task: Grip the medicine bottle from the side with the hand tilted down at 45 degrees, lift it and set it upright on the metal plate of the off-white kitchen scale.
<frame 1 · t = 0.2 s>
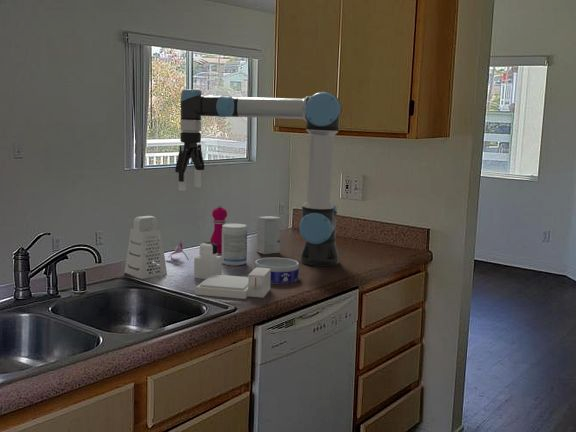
hand: (190, 188, 244), 28 cm above the counter, tool pointing down, fingers open, 13 cm apart
dog bowl: (276, 279, 226), on the counter
grater: (145, 274, 227), on the counter
lily: (177, 260, 249), on the counter
supplement tub: (233, 263, 246), on the counter
skincare box: (268, 252, 268), on the counter
kitchen scale: (227, 290, 209), on the counter
pepper mill: (218, 252, 265), on the counter
medicine bottle: (207, 277, 225), on the counter
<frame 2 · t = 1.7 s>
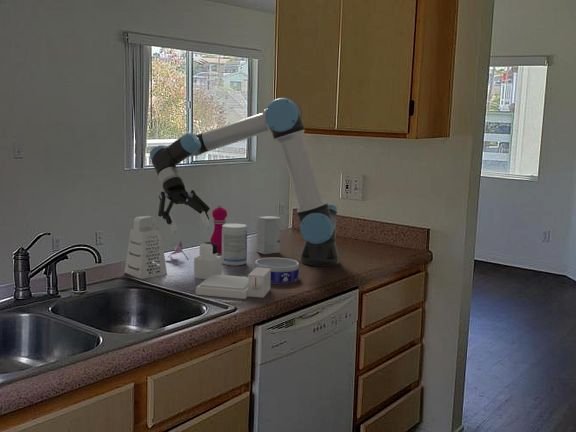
hand: (192, 229, 230), 15 cm above the counter, tool tilted 45°, fingers open, 13 cm apart
nothing on the counter moved.
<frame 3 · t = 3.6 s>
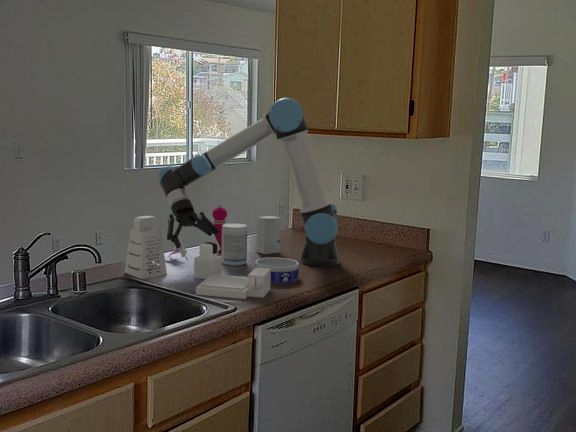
hand: (201, 252, 225), 8 cm above the counter, tool tilted 45°, fingers open, 13 cm apart
nothing on the counter moved.
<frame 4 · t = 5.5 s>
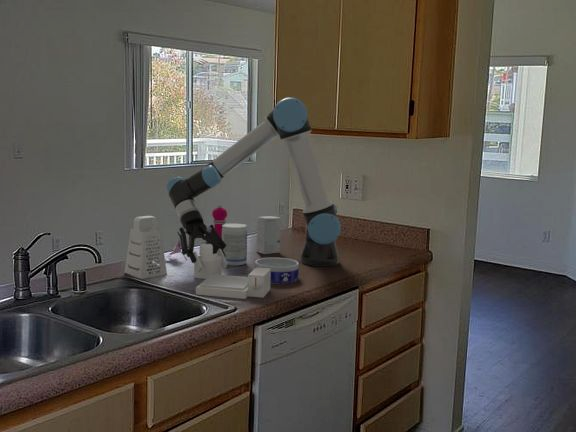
hand: (213, 267, 222), 4 cm above the counter, tool tilted 45°, fingers closed on medicine bottle, 9 cm apart
medicine bottle: (207, 277, 225), on the counter, touching gripper
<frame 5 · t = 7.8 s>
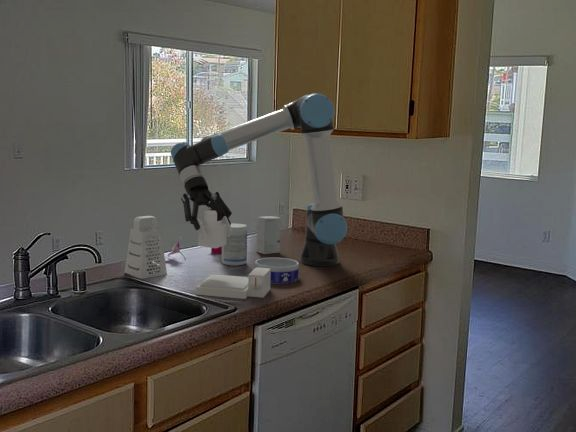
hand: (217, 235, 213), 17 cm above the counter, tool tilted 45°, fingers closed on medicine bottle, 9 cm apart
medicine bottle: (212, 246, 216), point 12 cm above the counter, touching gripper
when the fingers open (8 cm above the counter, at t = 10.5 s): medicine bottle drops 1 cm, resting on kitchen scale.
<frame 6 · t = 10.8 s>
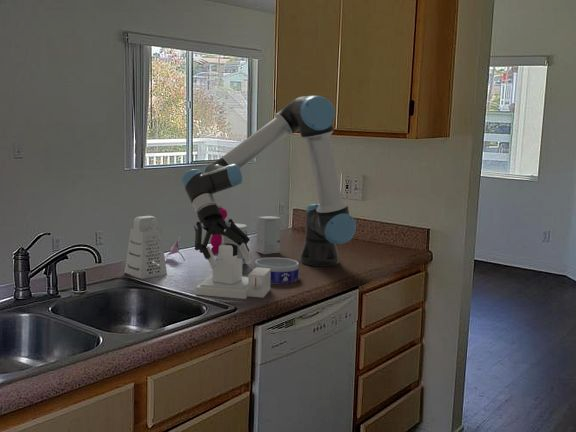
hand: (232, 264, 206), 9 cm above the counter, tool tilted 45°, fingers open, 13 cm apart
medicine bottle: (227, 281, 209), point 3 cm above the counter, touching kitchen scale
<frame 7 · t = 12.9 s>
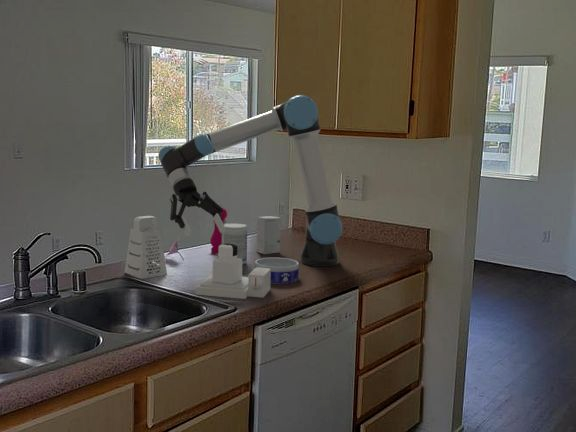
hand: (206, 232, 219), 16 cm above the counter, tool tilted 45°, fingers open, 13 cm apart
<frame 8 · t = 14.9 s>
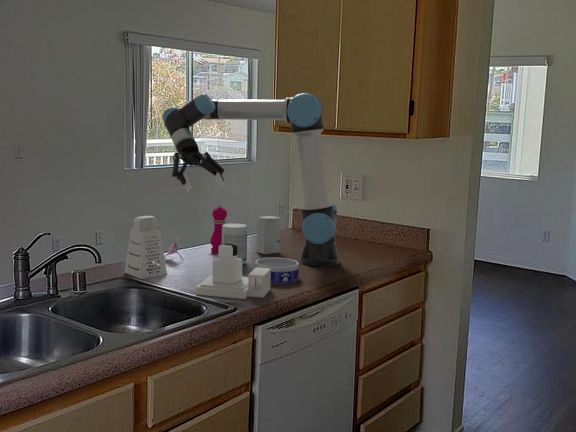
hand: (207, 190, 225), 30 cm above the counter, tool tilted 45°, fingers open, 13 cm apart
at the end: medicine bottle inside the target area on the kitchen scale (0.1 cm from its centre), point 2.8 cm above the kitchen scale's base; medicine bottle tilted 0°; the gripper is holding nothing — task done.
